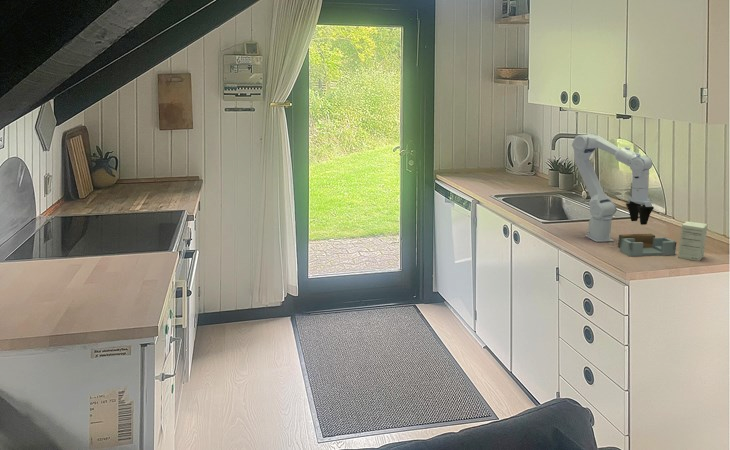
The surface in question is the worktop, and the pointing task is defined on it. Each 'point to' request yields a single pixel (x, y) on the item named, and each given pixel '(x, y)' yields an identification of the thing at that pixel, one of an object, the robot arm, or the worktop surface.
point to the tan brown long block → (639, 239)
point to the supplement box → (692, 240)
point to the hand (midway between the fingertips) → (638, 222)
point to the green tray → (658, 248)
